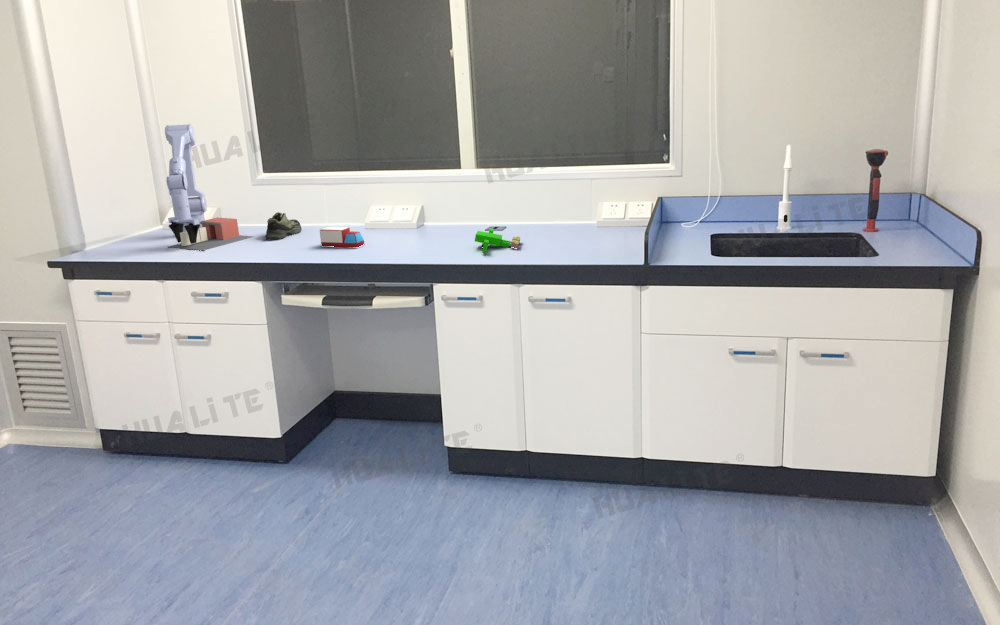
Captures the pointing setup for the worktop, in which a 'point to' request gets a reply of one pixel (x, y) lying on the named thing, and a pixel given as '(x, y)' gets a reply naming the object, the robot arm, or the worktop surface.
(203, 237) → the cream rectangular block
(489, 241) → the toy
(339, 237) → the toy truck
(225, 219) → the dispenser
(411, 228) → the worktop surface
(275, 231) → the hiking shoe
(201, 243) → the mat
